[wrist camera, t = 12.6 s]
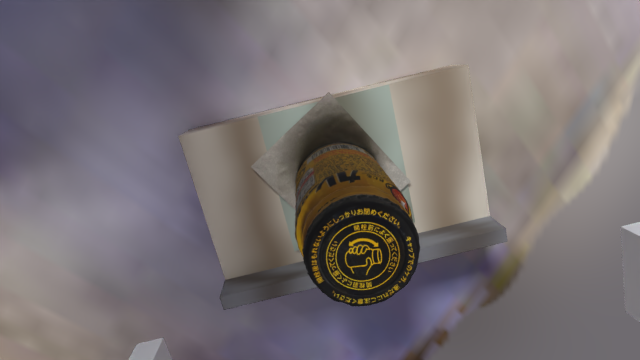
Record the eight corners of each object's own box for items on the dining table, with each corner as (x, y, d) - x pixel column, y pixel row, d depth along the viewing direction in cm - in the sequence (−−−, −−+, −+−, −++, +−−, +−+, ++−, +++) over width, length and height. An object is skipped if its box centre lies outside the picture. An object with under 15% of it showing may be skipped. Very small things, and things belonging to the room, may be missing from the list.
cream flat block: (235, 276, 35) (225, 313, 30) (188, 129, 32) (167, 142, 27) (476, 218, 35) (508, 245, 30) (452, 64, 32) (484, 64, 27)
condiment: (334, 247, 32) (356, 352, 20) (251, 166, 30) (222, 230, 18) (410, 180, 31) (478, 250, 19) (328, 91, 29) (350, 109, 17)
